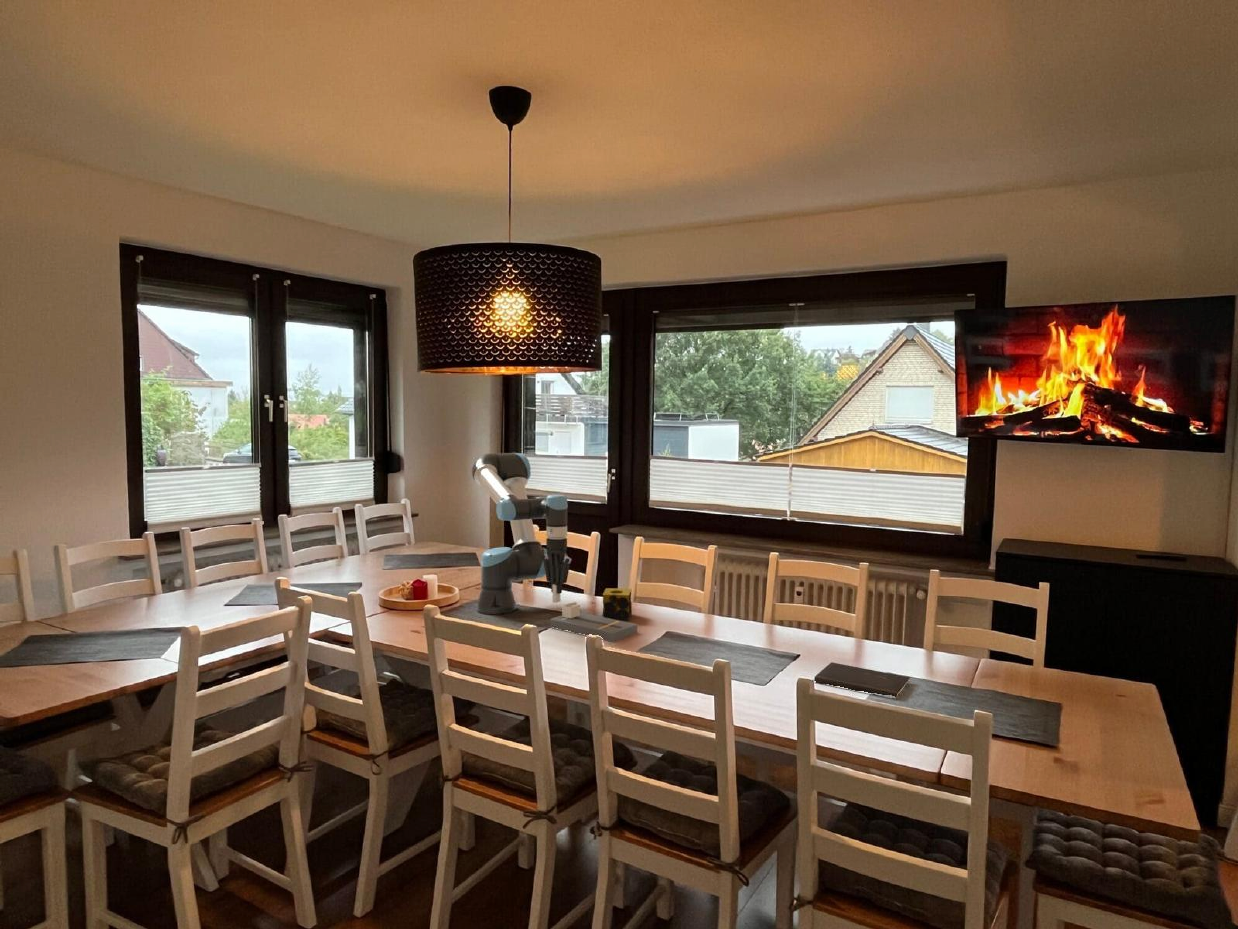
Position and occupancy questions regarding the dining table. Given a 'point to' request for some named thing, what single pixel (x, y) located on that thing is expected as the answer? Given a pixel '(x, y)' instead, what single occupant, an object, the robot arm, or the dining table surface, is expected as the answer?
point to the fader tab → (571, 610)
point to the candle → (617, 604)
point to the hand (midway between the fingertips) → (556, 601)
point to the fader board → (595, 626)
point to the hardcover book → (861, 679)
